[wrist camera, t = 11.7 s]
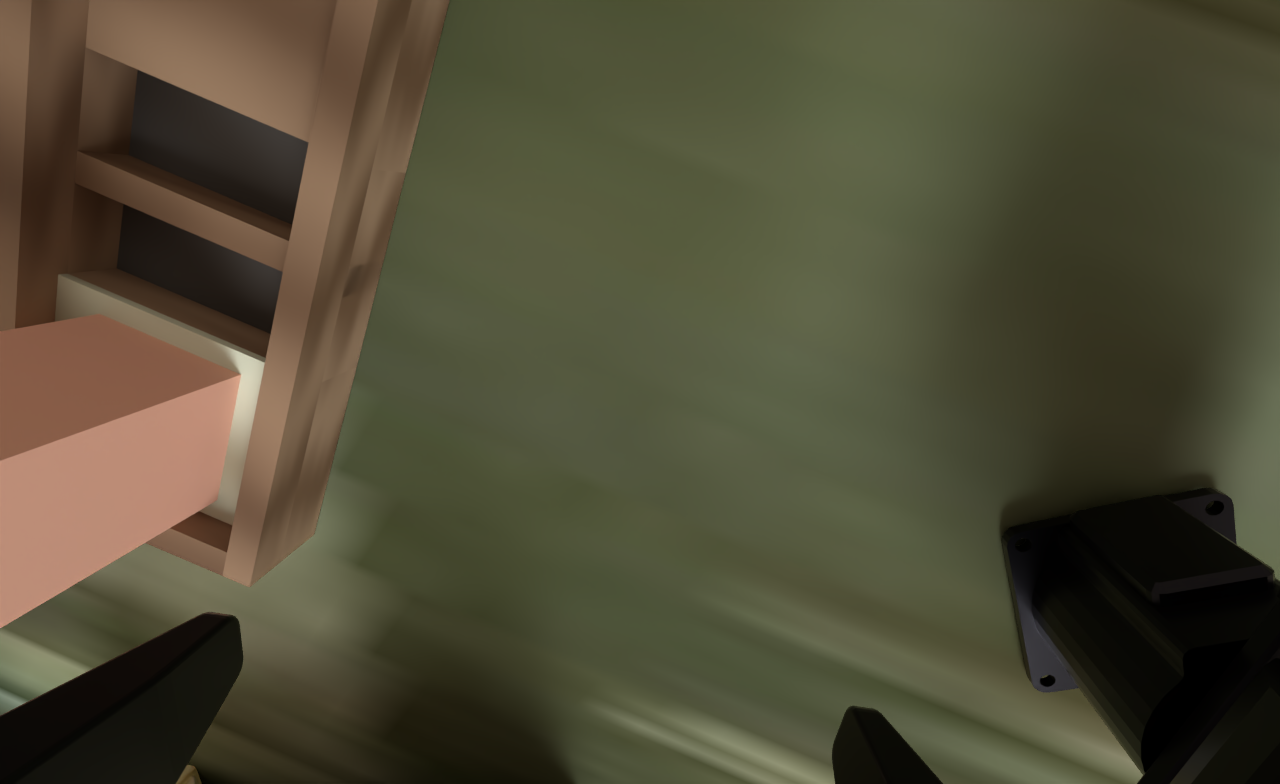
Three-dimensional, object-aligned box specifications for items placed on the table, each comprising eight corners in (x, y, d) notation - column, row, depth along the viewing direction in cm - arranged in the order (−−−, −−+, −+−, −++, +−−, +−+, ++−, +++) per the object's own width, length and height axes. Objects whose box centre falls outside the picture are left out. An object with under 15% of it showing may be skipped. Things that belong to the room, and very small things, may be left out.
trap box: (145, -231, 17) (7, -334, 14) (472, -91, 17) (412, -162, 14) (81, 435, 24) (-20, 472, 21) (314, 534, 24) (249, 587, 21)
